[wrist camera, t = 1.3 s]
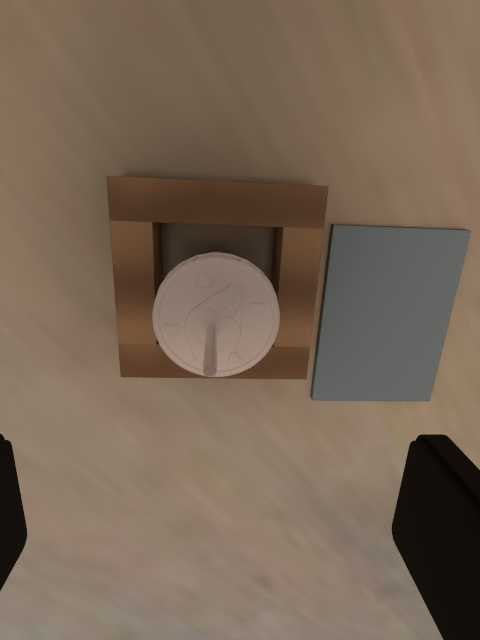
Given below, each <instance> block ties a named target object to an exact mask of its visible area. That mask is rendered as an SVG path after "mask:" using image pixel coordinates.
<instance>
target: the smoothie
mask: <svg viewBox="0 0 480 640" xmlns="http://www.w3.org/2000/svg"><path fill="white" fill-rule="evenodd" d="M152 319H153V328H154V332H155V335H156V338H157V340H158V342H159V344H160V346H161V348H162V349H163V351H164V352H165V353H166V354H167V356H168V357H169V358H170V359H171V360H172V361H174V362H175V363H176V364H177V365H179V366H180V367H182V368H184V369H186V370H188V371H190V372H192V373H195V374H198V375H203V376H206V377H224V376H230V375H234V374H237V373H240V372H243V371H245V370H247V369H249V368H251V367H252V366H254V365H255V364H256V363H258V362H259V361H260V360H261V359H262V358H263V357H264V356H265V355H266V354H267V353H268V351H269V350H270V348H271V347H272V345H273V343H274V341H275V339H276V337H277V333H278V330H279V324H280V310H279V305H278V300H277V296H276V293H275V291H274V289H273V286H272V284H271V282H270V281H269V279H268V278H267V277H266V276H265V274H264V273H263V272H262V271H261V270H260V269H259V268H258V267H256V266H255V265H253V264H252V263H251V262H249V261H248V260H246V259H243V258H241V257H238V256H235V255H233V254H228V253H225V252H222V251H212V252H209V253H206V254H200V255H196V256H194V257H192V258H189V259H187V260H185V261H183V262H181V263H180V264H179V265H177V266H176V267H175V268H174V269H173V270H172V271H170V272H169V273H168V275H167V276H166V278H165V279H164V280H163V282H162V283H161V285H160V286H159V289H158V292H157V295H156V298H155V302H154V306H153V314H152Z"/></svg>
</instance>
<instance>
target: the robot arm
mask: <svg viewBox="0 0 480 640" xmlns="http://www.w3.org/2000/svg"><path fill="white" fill-rule="evenodd" d="M392 535H393V539H394V542H395V544H396V546H397V548H398V550H399V552H400V554H401V556H402V558H403V560H404V562H405V564H406V566H407V568H408V570H409V572H410V574H411V576H412V578H413V580H414V582H415V584H416V586H417V588H418V590H419V592H420V594H421V596H422V598H423V600H424V602H425V604H426V606H427V608H428V610H429V612H430V614H431V616H432V618H433V620H434V622H435V624H436V626H437V628H438V630H439V632H440V633H441V635H442V637H443V639H444V640H480V470H479V469H478V468H477V467H476V466H475V465H474V464H473V463H472V462H471V460H470V459H469V458H468V457H467V456H466V455H465V454H464V453H463V452H462V451H461V450H460V449H459V448H458V447H457V446H456V445H455V444H454V442H453V441H452V440H451V439H450V438H449V437H447V436H446V435H419V436H418V437H417V439H416V441H412V442H411V443H410V446H409V450H408V455H407V459H406V464H405V469H404V473H403V478H402V482H401V487H400V491H399V496H398V500H397V505H396V509H395V514H394V519H393V523H392ZM26 539H27V528H26V522H25V516H24V511H23V505H22V500H21V494H20V488H19V483H18V477H17V472H16V466H15V460H14V455H13V449H12V445H11V442H10V441H8V440H5V439H4V437H3V435H2V434H0V591H1V589H2V587H3V585H4V583H5V581H6V580H7V578H8V576H9V574H10V572H11V570H12V569H13V567H14V565H15V563H16V561H17V560H18V558H19V556H20V554H21V552H22V550H23V548H24V546H25V543H26Z"/></svg>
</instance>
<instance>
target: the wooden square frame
mask: <svg viewBox="0 0 480 640" xmlns="http://www.w3.org/2000/svg"><path fill="white" fill-rule="evenodd" d="M107 188H108V203H109V217H110V231H111V245H112V259H113V273H114V287H115V301H116V316H117V330H118V344H119V358H120V372H121V377H155V378H240V379H306V377H307V369H308V360H309V351H310V343H311V334H312V325H313V317H314V308H315V299H316V290H317V282H318V273H319V264H320V256H321V247H322V238H323V229H324V221H325V212H326V203H327V195H328V186H314V185H293V184H271V183H250V182H228V181H207V180H185V179H164V178H142V177H121V176H107ZM161 223H184V224H210V225H236V226H262V227H275V236H274V250H273V264H272V277H271V284H272V286H273V289H274V291H275V293H276V296H277V300H278V305H279V310H280V324H279V330H278V333H277V337H276V339H275V341H274V343H273V345H272V347H271V348H270V350H269V351H268V353H267V354H266V355H265V356H264V357H263V358H262V359H261V360H260V361H259V362H258V363H256V364H255V365H254V366H252V367H251V368H249V369H247V370H245V371H243V372H240V373H237V374H234V375H230V376H224V377H206V376H203V375H198V374H195V373H192V372H190V371H188V370H186V369H184V368H182V367H180V366H179V365H177V364H176V363H175V362H174V361H172V360H171V359H170V358H169V357H168V356H167V354H166V353H165V352H164V351H163V349H162V348H161V346H160V344H159V342H158V340H157V338H156V335H155V332H154V328H153V319H152V314H153V306H154V302H155V298H156V295H157V292H158V289H159V286H160V285H161V283H162V254H161Z"/></svg>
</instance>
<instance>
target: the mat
mask: <svg viewBox="0 0 480 640" xmlns="http://www.w3.org/2000/svg"><path fill="white" fill-rule="evenodd" d="M470 234H471V231H470V230H459V229H434V228H409V227H384V226H359V225H333V224H331V231H330V239H329V247H328V256H327V264H326V272H325V280H324V289H323V297H322V305H321V313H320V322H319V330H318V338H317V346H316V355H315V363H314V371H313V379H312V388H311V396H310V397H311V399H312V400H340V401H430V398H431V393H432V389H433V385H434V381H435V377H436V373H437V369H438V365H439V361H440V357H441V352H442V348H443V344H444V340H445V336H446V332H447V328H448V324H449V320H450V316H451V311H452V307H453V303H454V299H455V295H456V291H457V287H458V283H459V279H460V275H461V270H462V266H463V262H464V258H465V254H466V250H467V246H468V242H469V238H470Z"/></svg>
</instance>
